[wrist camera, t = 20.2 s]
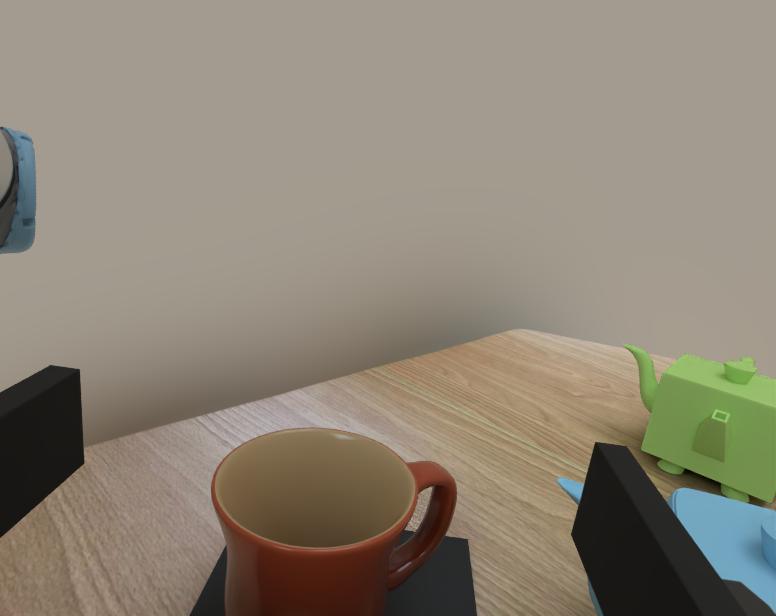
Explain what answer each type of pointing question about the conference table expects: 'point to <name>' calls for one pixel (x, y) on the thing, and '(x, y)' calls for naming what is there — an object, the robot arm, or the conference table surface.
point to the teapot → (722, 537)
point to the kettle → (712, 422)
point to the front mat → (407, 602)
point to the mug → (323, 522)
